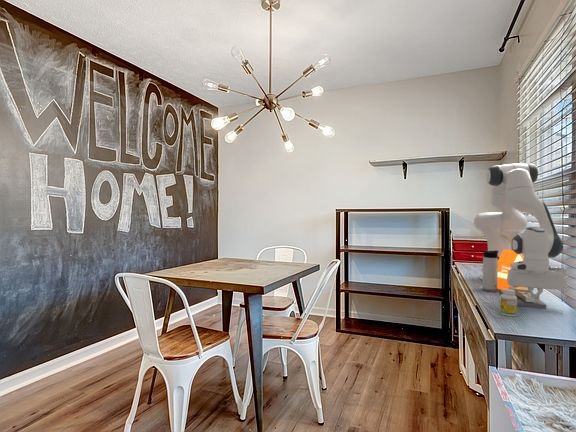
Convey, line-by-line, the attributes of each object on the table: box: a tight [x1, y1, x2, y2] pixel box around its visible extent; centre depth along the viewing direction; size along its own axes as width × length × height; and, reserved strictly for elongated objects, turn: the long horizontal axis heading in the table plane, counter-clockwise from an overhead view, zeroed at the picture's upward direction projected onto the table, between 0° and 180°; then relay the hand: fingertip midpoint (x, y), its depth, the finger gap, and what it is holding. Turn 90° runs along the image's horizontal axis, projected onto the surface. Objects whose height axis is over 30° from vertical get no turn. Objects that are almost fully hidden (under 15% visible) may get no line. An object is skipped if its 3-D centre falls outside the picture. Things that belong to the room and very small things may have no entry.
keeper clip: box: [509, 287, 530, 296], centre depth 149 cm, size 4×7×4 cm, turn 69°
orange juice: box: [497, 249, 526, 290], centre depth 170 cm, size 8×9×20 cm
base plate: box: [499, 289, 547, 310], centre depth 151 cm, size 23×12×2 cm, turn 159°
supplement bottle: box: [499, 289, 518, 317], centre depth 130 cm, size 5×5×10 cm
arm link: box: [511, 286, 534, 302], centre depth 150 cm, size 21×4×5 cm, turn 162°
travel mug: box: [482, 250, 499, 293], centre depth 168 cm, size 6×7×20 cm
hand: (535, 298), depth 142 cm, fingers closed
